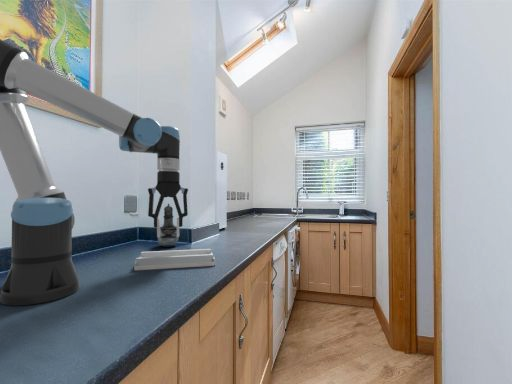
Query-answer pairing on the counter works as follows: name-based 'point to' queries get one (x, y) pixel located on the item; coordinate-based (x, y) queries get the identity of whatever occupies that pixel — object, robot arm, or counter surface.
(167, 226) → the stone tower figurine
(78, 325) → the counter surface
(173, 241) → the mug
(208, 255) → the rail board
